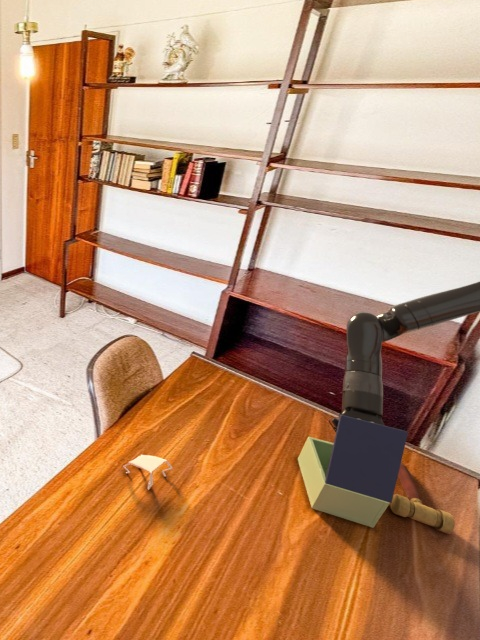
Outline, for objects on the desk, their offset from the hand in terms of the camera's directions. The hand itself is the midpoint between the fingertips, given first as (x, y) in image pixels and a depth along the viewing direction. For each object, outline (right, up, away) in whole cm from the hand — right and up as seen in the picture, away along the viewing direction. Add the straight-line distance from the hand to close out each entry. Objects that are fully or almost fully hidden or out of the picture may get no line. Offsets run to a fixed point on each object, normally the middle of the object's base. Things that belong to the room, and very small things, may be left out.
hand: (359, 466), depth 92 cm
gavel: (+21, -11, +10) cm, 26 cm away
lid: (0, +3, -1) cm, 3 cm away
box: (+1, -11, +10) cm, 14 cm away
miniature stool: (-46, -8, +12) cm, 48 cm away
